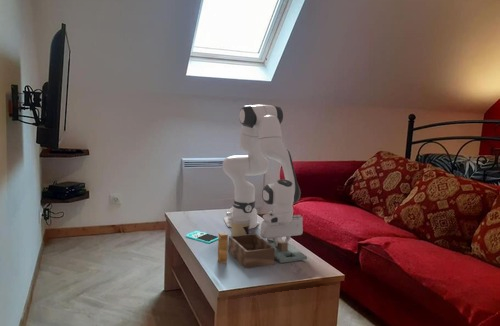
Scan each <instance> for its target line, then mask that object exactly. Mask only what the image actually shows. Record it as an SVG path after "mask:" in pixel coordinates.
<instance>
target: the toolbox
mask: <svg viewBox="0 0 500 326" xmlns="http://www.w3.org/2000/svg"><path fill="white" fill-rule="evenodd" d="M268 243H269V242H267V241H266V240H264V238H263V237H261V236H259V235H258V234H256V233H249V234H246V235H236V236H232V235H228V244H227V252H229V254H230V255H231V256H232V257H233V258H234V259H236V260H237V262H238V263H239V264H240V265H241V266H242V267H243V268H244V269H254V268H259V267H260V268H261V267H267V266H273V265H275V258H274V256H275V248H273V247H272V246H271V245H270V244H268Z"/></svg>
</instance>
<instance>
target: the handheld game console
mask: <svg viewBox="0 0 500 326" xmlns="http://www.w3.org/2000/svg"><path fill="white" fill-rule="evenodd" d="M185 236H186V238H187V239H188V238H189V239H191V240H195V241H198V242H201V243H204V244H209V245H210V244H211V243H214V242H215V241H216V242H217V241H218V236H219V235H215V234H211V233H207V232H203V231H201V230H194V231H192V232H189V233H187V234H186V235H185Z"/></svg>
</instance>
